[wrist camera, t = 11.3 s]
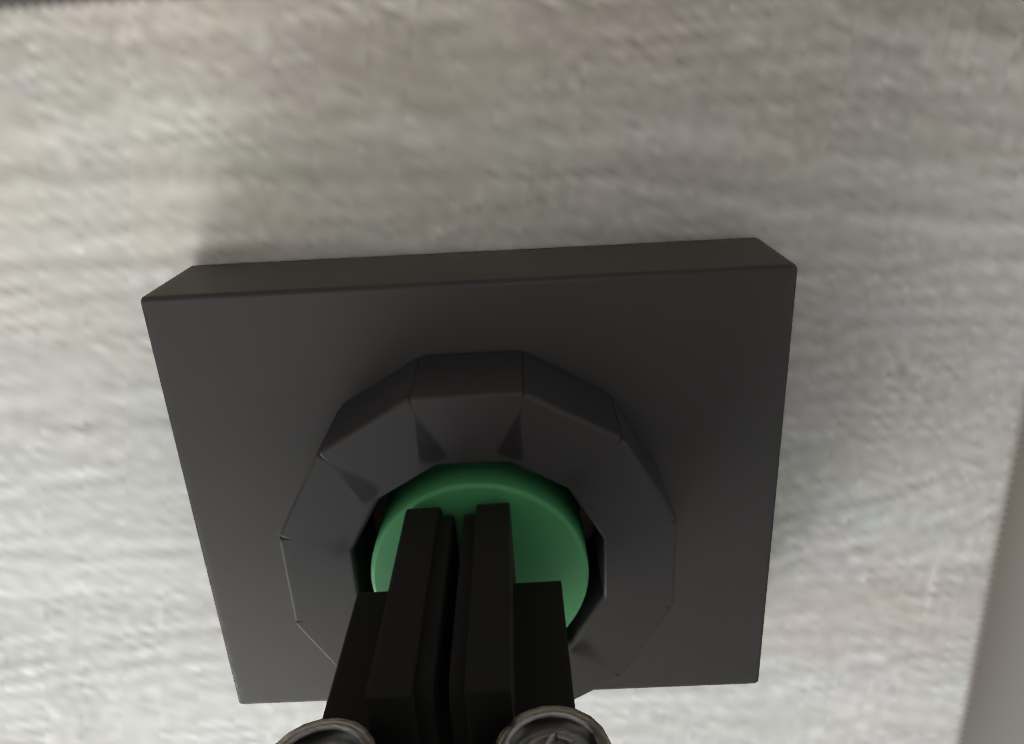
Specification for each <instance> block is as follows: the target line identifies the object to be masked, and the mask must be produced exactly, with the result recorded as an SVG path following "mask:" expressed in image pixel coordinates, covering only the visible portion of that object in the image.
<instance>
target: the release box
mask: <svg viewBox="0 0 1024 744" xmlns="http://www.w3.org/2000/svg"><path fill="white" fill-rule="evenodd" d="M796 277H797V267H796V265H795V264H793V263H792V262H791V261H789V260H788V259H786V258H785V257H783V256H782V255H781V254H779V253H778V252H776V251H775V250H773V249H772V248H771V247H769V246H768V245H766V244H765V243H764V242H762V241H761V240H759V239H757V238H745V239H725V240H705V241H685V242H665V243H645V244H625V245H605V246H585V247H565V248H546V249H526V250H506V251H486V252H466V253H446V254H426V255H406V256H386V257H366V258H347V259H327V260H307V261H287V262H267V263H247V264H227V265H207V266H192V267H190V268H188V269H186V270H185V271H183V272H182V273H180V274H179V275H177V276H175V277H174V278H172V279H171V280H169V281H168V282H166V283H164V284H163V285H161V286H160V287H158V288H157V289H155V290H153V291H152V292H150V293H149V294H147V295H146V296H144V297H142V299H141V305H142V309H143V313H144V317H145V321H146V325H147V329H148V333H149V337H150V341H151V345H152V349H153V353H154V357H155V361H156V365H157V370H158V374H159V378H160V382H161V386H162V390H163V394H164V398H165V402H166V406H167V410H168V414H169V418H170V422H171V426H172V430H173V435H174V439H175V443H176V447H177V451H178V455H179V459H180V463H181V467H182V471H183V475H184V479H185V483H186V487H187V491H188V495H189V499H190V504H191V508H192V512H193V516H194V520H195V524H196V528H197V532H198V536H199V540H200V544H201V548H202V552H203V556H204V560H205V564H206V569H207V573H208V577H209V581H210V585H211V589H212V593H213V597H214V601H215V605H216V609H217V613H218V617H219V621H220V625H221V629H222V633H223V638H224V642H225V646H226V650H227V654H228V658H229V662H230V666H231V670H232V674H233V678H234V682H235V686H236V690H237V694H238V698H239V702H240V703H242V704H254V703H278V702H303V701H327V700H328V697H329V694H330V690H331V686H332V683H333V679H334V676H335V672H336V669H337V665H338V661H339V658H340V654H341V651H342V647H343V643H344V640H345V636H346V633H347V629H348V626H349V622H350V618H351V615H352V611H353V608H354V604H355V601H356V598H357V596H358V595H359V594H360V593H365V592H374V590H373V585H372V581H371V561H372V555H373V551H374V547H375V543H376V540H377V536H378V532H379V529H380V525H381V522H382V518H383V515H384V511H385V507H386V504H387V500H388V497H389V494H390V491H392V490H394V489H396V488H397V487H399V486H401V485H402V484H404V483H406V482H408V481H409V480H411V479H413V478H414V477H416V476H418V475H420V474H421V473H423V472H425V471H426V470H428V469H430V468H432V467H433V466H435V465H444V464H466V463H488V462H511V463H513V464H515V465H517V466H520V467H522V468H524V469H526V470H528V471H531V472H533V473H535V474H537V475H540V476H542V477H544V478H546V479H548V480H551V481H553V482H555V483H557V484H560V485H562V486H564V487H566V488H568V489H569V491H570V492H571V493H572V495H573V496H574V498H575V499H576V500H577V502H578V503H579V506H580V512H581V519H582V525H583V531H584V538H585V544H586V550H587V557H588V565H589V580H588V587H587V591H586V595H585V598H584V600H583V603H582V605H581V607H580V609H579V611H578V612H577V614H576V616H575V618H574V619H573V620H572V622H571V623H570V624H569V625H568V627H567V628H566V629H567V638H568V647H569V657H570V666H571V675H572V684H573V694H574V699H576V698H578V697H580V696H582V695H584V694H586V693H588V692H590V691H592V690H599V689H623V688H648V687H673V686H697V685H722V684H747V683H756V682H757V681H758V677H759V667H760V656H761V645H762V635H763V624H764V614H765V603H766V593H767V582H768V572H769V561H770V551H771V540H772V530H773V519H774V509H775V498H776V488H777V477H778V467H779V456H780V446H781V435H782V425H783V414H784V404H785V393H786V383H787V372H788V362H789V351H790V341H791V330H792V319H793V309H794V298H795V288H796Z"/></svg>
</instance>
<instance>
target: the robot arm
mask: <svg viewBox="0 0 1024 744" xmlns="http://www.w3.org/2000/svg"><path fill="white" fill-rule="evenodd" d="M276 744H611V742H610V740H609V738H608V736H607V735H606V733H605V731H604V729H603V727H602V726H601V725H599V724H598V723H597V722H596V721H595V720H594V719H593V718H592V717H591V716H589V715H587V714H585V713H583V712H581V711H579V710H577V709H575V703H574V694H573V684H572V675H571V666H570V657H569V647H568V638H567V629H566V620H565V611H564V601H563V592H562V584H561V581H545V582H529V583H516V574H515V562H514V550H513V537H512V525H511V512H510V503H495V504H479V505H477V506H476V514H464V519H463V530H462V541H461V551H460V561H459V553H458V544H457V535H456V526H455V519H454V515H445V516H442V510H441V508H440V507H432V508H416V509H407V510H406V513H405V517H404V522H403V526H402V531H401V535H400V540H399V544H398V549H397V553H396V558H395V562H394V567H393V571H392V576H391V580H390V585H389V589H388V591H381V592H365V593H360V594H359V595H358V596H357V598H356V601H355V604H354V608H353V611H352V615H351V618H350V622H349V626H348V629H347V633H346V636H345V640H344V643H343V647H342V651H341V654H340V658H339V661H338V665H337V669H336V672H335V676H334V679H333V683H332V686H331V690H330V694H329V697H328V701H327V704H326V708H325V711H324V715H323V719H320V720H316V721H313V722H310V723H307V724H304V725H302V726H300V727H298V728H296V729H295V730H293V731H291V732H289V733H288V734H286V735H285V736H284V737H283V738H282V739H281V740H280V741H278V742H277V743H276Z"/></svg>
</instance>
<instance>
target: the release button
mask: <svg viewBox="0 0 1024 744" xmlns="http://www.w3.org/2000/svg"><path fill="white" fill-rule="evenodd" d="M495 503H510V512H511V525H512V537H513V550H514V562H515V574H516V583H529V582H545V581H561V584H562V592H563V601H564V611H565V620H566V628H567V627H568V625H569V624H570V623H571V622H572V620H573V619H574V618H575V616H576V614H577V612H578V611H579V609H580V607H581V605H582V603H583V600H584V598H585V595H586V591H587V587H588V580H589V565H588V557H587V550H586V544H585V538H584V531H583V525H582V519H581V512H580V506H579V503H578V502H577V500H576V499H575V498H574V496H573V495H572V493H571V492H570V491H569V489H568V488H566V487H564V486H562V485H560V484H557V483H555V482H553V481H551V480H548V479H546V478H544V477H542V476H540V475H537V474H535V473H533V472H531V471H528V470H526V469H524V468H522V467H520V466H517V465H515V464H513V463H511V462H488V463H466V464H444V465H435V466H433V467H432V468H430V469H428V470H426V471H425V472H423V473H421V474H420V475H418V476H416V477H414V478H413V479H411V480H409V481H408V482H406V483H404V484H402V485H401V486H399V487H397V488H396V489H394V490H392V491H390V494H389V497H388V500H387V504H386V507H385V511H384V515H383V518H382V522H381V525H380V529H379V532H378V536H377V540H376V543H375V547H374V551H373V555H372V561H371V581H372V585H373V590H374V592H381V591H388V589H389V585H390V580H391V576H392V571H393V567H394V562H395V558H396V553H397V549H398V544H399V540H400V535H401V531H402V526H403V522H404V517H405V513H406V510H407V509H416V508H432V507H440V508H441V510H442V516H445V515H454V519H455V526H456V535H457V544H458V553H459V561H460V551H461V541H462V530H463V519H464V514H476V506H477V505H479V504H495Z"/></svg>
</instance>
